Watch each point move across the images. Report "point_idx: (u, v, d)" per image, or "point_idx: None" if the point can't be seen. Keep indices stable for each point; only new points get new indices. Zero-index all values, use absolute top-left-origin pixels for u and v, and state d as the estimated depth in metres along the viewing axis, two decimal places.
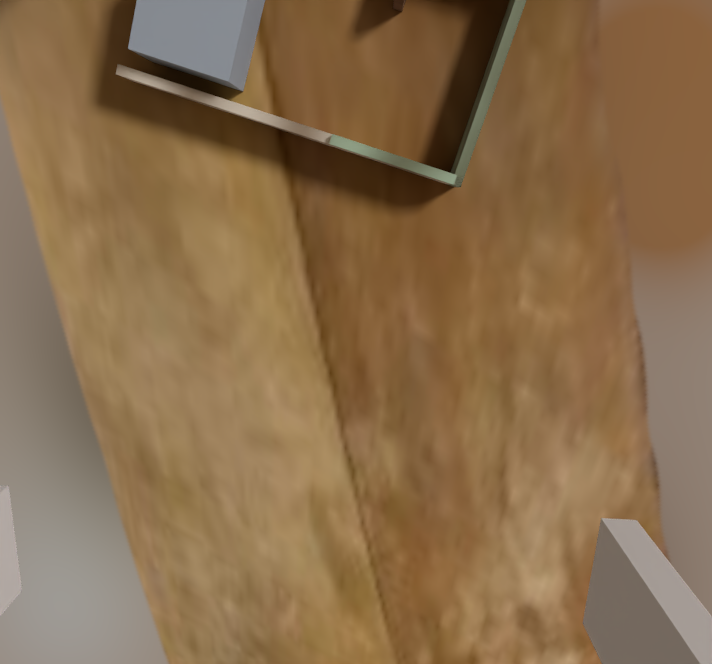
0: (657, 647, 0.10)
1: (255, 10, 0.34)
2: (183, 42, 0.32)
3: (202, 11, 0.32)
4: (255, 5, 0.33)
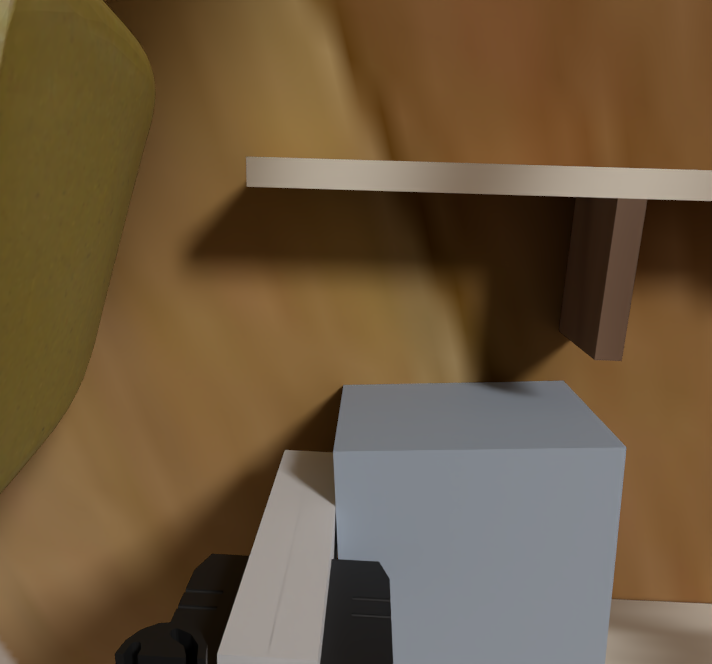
0: None
1: None
2: (473, 639, 0.13)
3: (507, 568, 0.12)
4: None
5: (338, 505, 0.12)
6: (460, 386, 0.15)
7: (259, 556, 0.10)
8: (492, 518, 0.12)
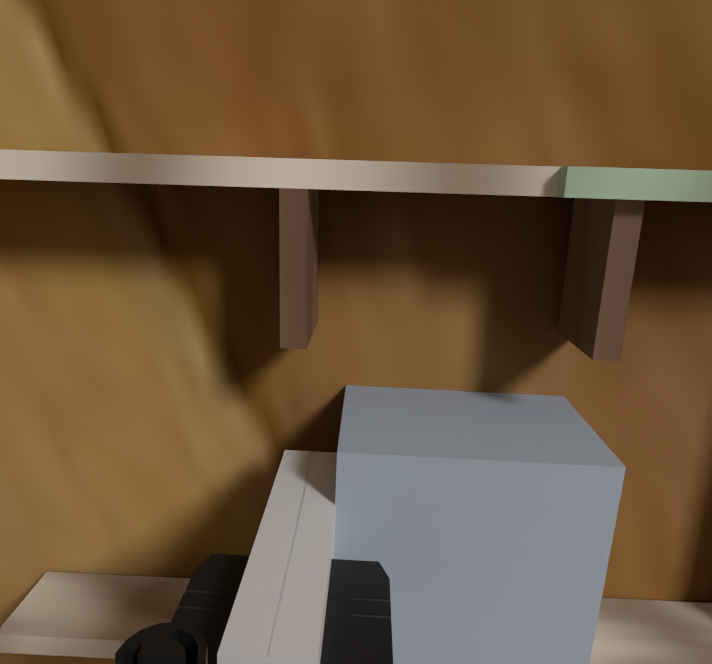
0: None
1: None
2: (460, 646, 0.13)
3: (499, 578, 0.12)
4: None
5: (337, 506, 0.12)
6: (462, 394, 0.15)
7: (259, 556, 0.10)
8: (489, 528, 0.12)
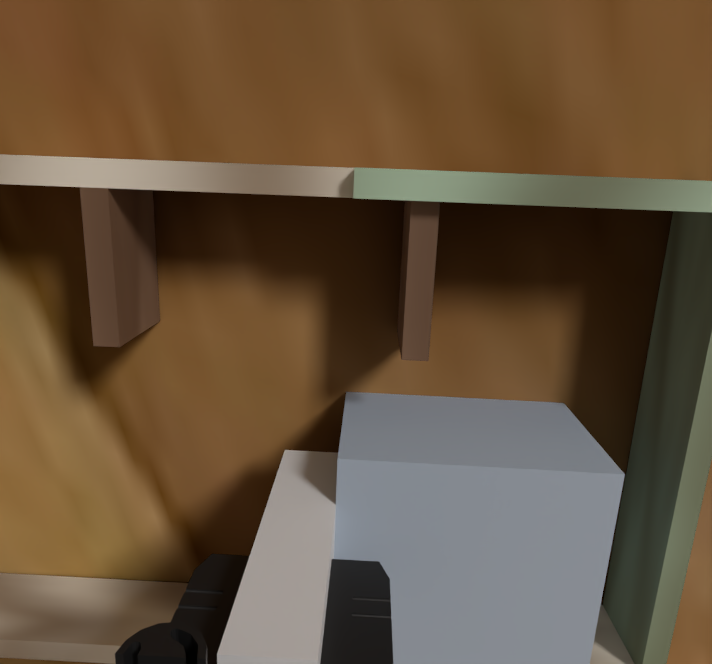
0: None
1: None
2: (460, 651, 0.13)
3: (498, 584, 0.13)
4: None
5: (338, 512, 0.12)
6: (462, 400, 0.15)
7: (259, 556, 0.10)
8: (488, 534, 0.12)
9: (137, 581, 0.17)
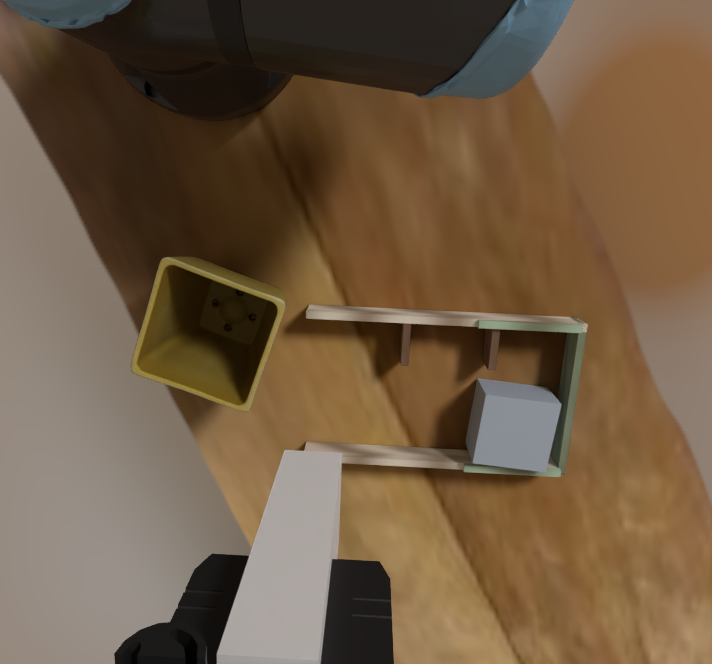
0: None
1: None
2: (512, 453, 0.45)
3: (525, 433, 0.45)
4: None
5: (483, 409, 0.45)
6: (514, 383, 0.48)
7: (259, 556, 0.10)
8: (524, 418, 0.45)
9: (387, 446, 0.50)
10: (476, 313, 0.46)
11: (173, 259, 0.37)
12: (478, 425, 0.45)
